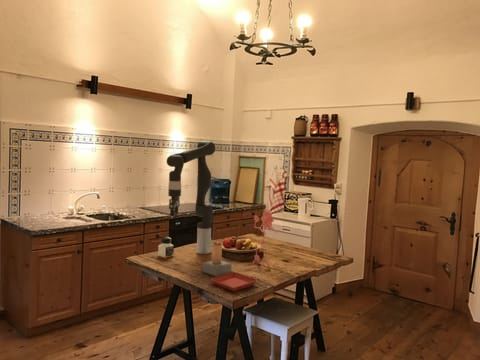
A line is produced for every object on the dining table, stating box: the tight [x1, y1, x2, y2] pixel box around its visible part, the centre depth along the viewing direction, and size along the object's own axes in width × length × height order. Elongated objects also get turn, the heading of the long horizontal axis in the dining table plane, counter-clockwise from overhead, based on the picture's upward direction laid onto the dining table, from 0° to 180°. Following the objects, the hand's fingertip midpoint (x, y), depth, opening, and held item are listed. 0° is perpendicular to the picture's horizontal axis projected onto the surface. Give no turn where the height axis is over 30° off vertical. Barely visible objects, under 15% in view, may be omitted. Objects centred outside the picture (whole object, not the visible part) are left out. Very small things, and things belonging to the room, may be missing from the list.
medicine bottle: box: [157, 236, 175, 259], centre depth 262 cm, size 7×7×12 cm
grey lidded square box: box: [201, 260, 232, 277], centre depth 234 cm, size 12×12×5 cm
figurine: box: [252, 208, 278, 269], centre depth 249 cm, size 15×26×35 cm, turn 28°
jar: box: [211, 241, 223, 264], centre depth 233 cm, size 5×5×12 cm
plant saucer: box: [210, 271, 258, 292], centre depth 214 cm, size 18×18×3 cm
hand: (174, 214), depth 245 cm, fingers open, 8 cm apart
